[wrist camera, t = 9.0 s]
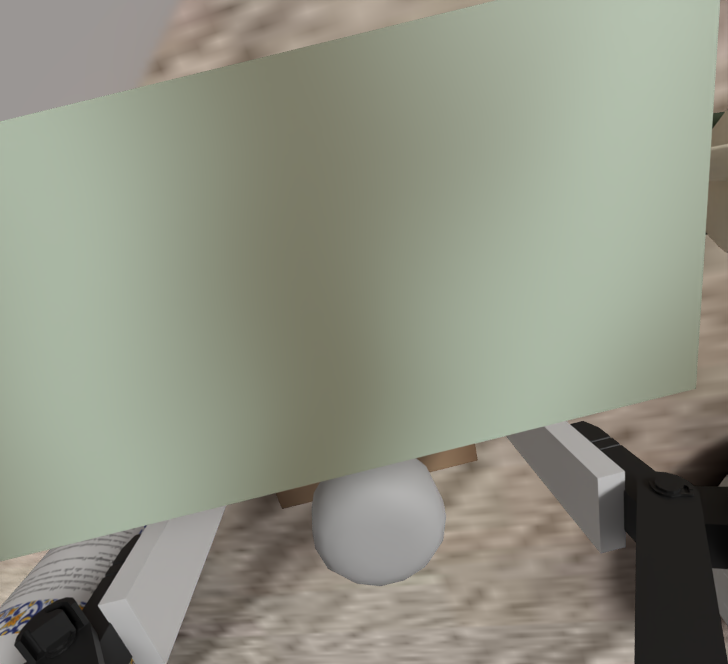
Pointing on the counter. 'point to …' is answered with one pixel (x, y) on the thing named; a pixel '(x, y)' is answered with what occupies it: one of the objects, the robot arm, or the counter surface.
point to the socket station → (348, 259)
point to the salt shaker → (378, 522)
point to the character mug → (718, 182)
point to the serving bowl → (722, 580)
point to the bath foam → (58, 584)
